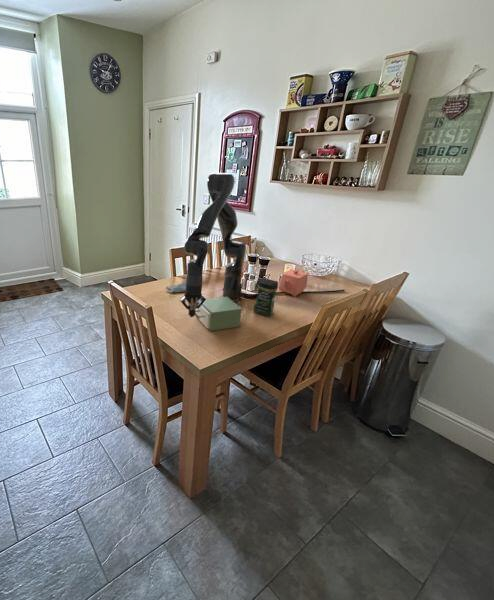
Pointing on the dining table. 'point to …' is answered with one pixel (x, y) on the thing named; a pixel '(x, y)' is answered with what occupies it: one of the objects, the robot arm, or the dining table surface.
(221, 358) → the dining table surface
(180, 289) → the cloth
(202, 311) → the drawer
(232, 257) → the robot arm
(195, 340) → the dining table surface
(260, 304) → the coffee jar
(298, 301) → the dining table surface
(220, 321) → the cabinet
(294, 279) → the pink knobbed cube
